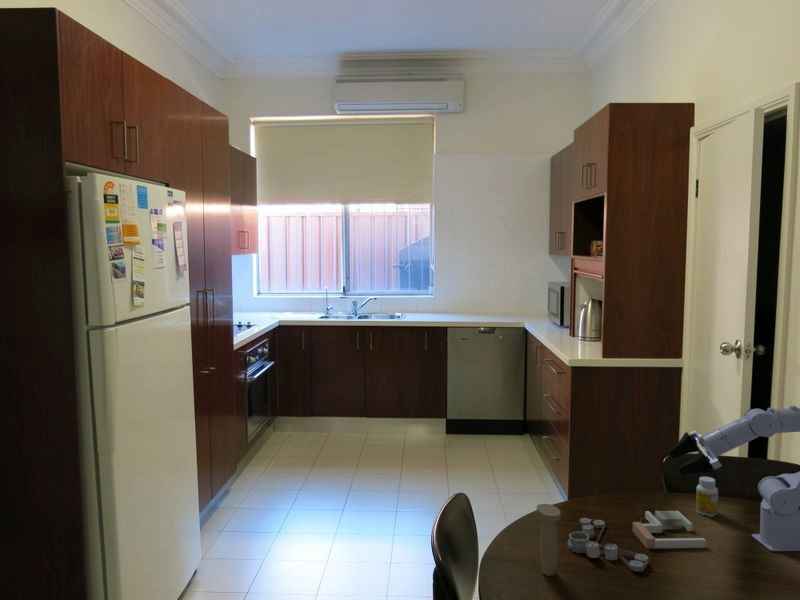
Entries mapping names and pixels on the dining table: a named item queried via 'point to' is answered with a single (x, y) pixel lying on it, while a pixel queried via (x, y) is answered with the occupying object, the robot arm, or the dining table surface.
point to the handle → (548, 537)
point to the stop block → (643, 535)
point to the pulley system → (602, 546)
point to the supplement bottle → (707, 497)
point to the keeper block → (669, 519)
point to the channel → (673, 542)
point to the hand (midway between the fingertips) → (674, 463)
